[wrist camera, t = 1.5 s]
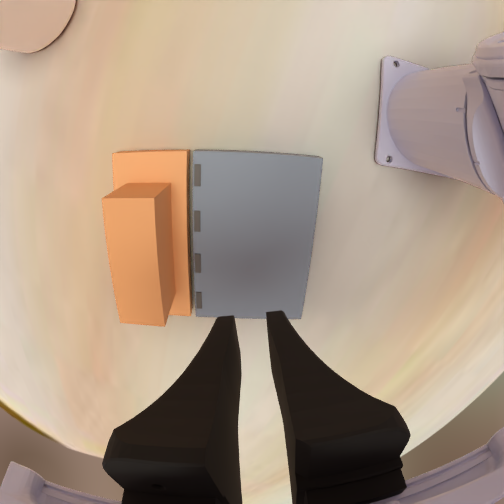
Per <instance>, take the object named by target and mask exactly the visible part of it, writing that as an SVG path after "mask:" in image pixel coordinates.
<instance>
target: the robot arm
mask: <svg viewBox="0 0 504 504" xmlns="http://www.w3.org/2000/svg"><path fill="white" fill-rule="evenodd" d="M393 62H396V64H397V67H395V66H394V65H393ZM387 156H390V161H389V162H387V161H386V158H387ZM375 160H376V162H377V163H378V164H380V165H384V166H390V167H396V168H402V169H408V170H413V171H418V172H424V173H429V174H434V175H438V176H443V177H448V178H452V179H457V180H460V181H463V182H465V183H468V184H470V185H473V186H475V187H478V188H480V189H482V190H485V191H487V192H489V193H492V194H494V195H496V196H498V197H499V198H500V199H501V200H502V201H503V203H504V32H501V33H499V34H496V35H493V36H491V37H488V38H486V39H484V40H483V41H481V42H479V43H478V44H477V47H476V50H475V54H474V55H473V57H472V64H464V65H456V66H449V67H443V68H436V69H428V68H426V67H423V66H420V65H417V64H414V63H411V62H408V61H405V60H402V59H399V58H395V57H392V56H386V57H383V59H382V70H381V92H380V108H379V121H378V132H377V142H376V151H375ZM266 319H267V330H268V340H269V351H270V360H271V369H272V375H273V379H274V383H275V388H276V392H277V396H278V401H279V405H280V409H281V414H282V418H283V424H284V432H285V440H286V448H287V457H288V465H289V474H290V484H291V493H292V503H293V504H494V503H496V502H497V501H499V500H500V499H502V498H503V497H504V427H503V428H501V429H500V430H498V431H497V432H496V433H495V434H494V435H493V436H492V437H491V438H490V440H489V441H488V443H487V444H486V445H484V446H482V447H480V448H478V449H476V450H474V451H472V452H471V453H469V454H467V455H465V456H463V457H461V458H458V459H456V460H454V461H452V462H450V463H448V464H445V465H443V466H441V467H439V468H436V469H434V470H432V471H429V472H427V473H424V474H422V475H419V476H417V477H414V478H411V479H408V480H406V481H405V480H404V477H403V475H402V471H401V468H402V467H403V464H402V461H401V458H400V455H401V453H402V451H403V450H404V448H405V446H406V445H407V443H408V441H409V438H410V432H409V429H408V427H407V425H406V423H405V421H404V419H403V418H402V416H401V415H400V413H399V412H398V410H397V409H396V407H395V406H392V405H390V404H388V403H385V402H383V401H381V400H379V399H376V398H374V397H372V396H370V395H368V394H367V393H365V392H363V391H361V390H360V389H358V388H357V387H355V386H354V385H352V384H351V383H349V382H348V381H346V380H345V379H343V378H342V377H340V376H339V375H338V374H337V373H335V372H334V371H333V370H332V369H330V368H329V367H328V366H327V365H326V364H325V363H324V362H323V361H322V360H321V359H320V358H319V357H318V356H317V355H316V354H315V353H314V352H313V351H312V350H311V349H310V348H309V347H308V346H307V345H306V343H305V342H304V341H303V340H302V338H301V337H300V336H299V335H298V333H297V332H296V331H295V329H294V328H293V326H292V325H291V323H290V322H289V320H288V319H287V317H286V315H285V313H284V312H283V311H282V310H279V311H270V312H266ZM240 388H241V355H240V348H239V342H238V336H237V330H236V324H235V318H234V315H231V316H219V317H218V318H217V319H216V321H215V323H214V325H213V327H212V329H211V331H210V333H209V335H208V336H207V338H206V340H205V342H204V343H203V345H202V347H201V348H200V350H199V351H198V353H197V354H196V356H195V357H194V359H193V360H192V361H191V363H190V364H189V366H188V367H187V368H186V370H185V371H184V372H183V373H182V375H181V376H180V377H179V378H178V379H177V380H176V381H175V383H174V384H173V385H172V386H171V387H170V388H169V389H168V390H167V391H166V392H165V393H164V394H163V395H162V396H161V397H160V398H158V399H157V400H156V401H155V402H154V403H152V404H151V405H150V406H149V407H147V408H146V409H145V410H144V411H142V412H141V413H139V414H138V415H137V416H135V417H134V418H132V419H130V420H129V421H127V422H126V423H124V424H122V425H121V426H119V427H117V428H115V429H114V430H113V433H112V435H111V437H110V439H109V442H108V445H107V449H106V452H105V455H104V459H103V463H102V465H103V468H104V470H105V471H106V472H107V474H108V475H109V476H110V477H111V478H113V479H114V480H115V481H116V482H117V483H118V484H119V485H120V486H121V487H123V488H124V493H123V498H122V501H117V500H111V499H107V498H103V497H99V496H95V495H91V494H87V493H83V492H79V491H76V490H72V489H69V488H66V487H63V486H60V485H57V484H54V483H51V482H48V481H45V480H44V479H43V478H42V477H41V476H40V475H39V474H38V473H36V472H35V471H33V470H31V469H29V468H27V467H25V466H22V465H20V464H17V463H15V462H10V465H9V467H8V469H7V472H6V475H5V477H4V480H3V482H2V485H1V487H0V504H242V494H241V480H240V465H239V445H238V414H239V401H240Z"/></svg>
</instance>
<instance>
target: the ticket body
mask: <svg viewBox="0 0 504 504" xmlns="http://www.w3.org/2000/svg"><path fill="white" fill-rule="evenodd" d="M322 163H323V158H321V157H319V156H311V155H300V154H288V153H274V152H258V151H237V150H195V151H193V257H194V286H195V308H196V316H198V317H219V316H231V315H234V318H252V319H266V312H270V311H279V310H282V311H283V312H284V313H285V315H286V317H287V319H301V317H302V311H303V305H304V299H305V293H306V287H307V280H308V274H309V267H310V261H311V254H312V247H313V239H314V232H315V224H316V217H317V208H318V200H319V191H320V182H321V173H322Z"/></svg>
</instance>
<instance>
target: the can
mask: <svg viewBox="0 0 504 504" xmlns="http://www.w3.org/2000/svg"><path fill="white" fill-rule="evenodd" d="M75 2H76V0H0V49H4V50H11V51H17V52H23V53H32V52H36V51H39V50H41V49H43V48H44V47H46V46H47V45H49V44H50V43H51V42H52V41H54V40H55V39H56V38H57V37H58V36H59V35H60V34H61V32H62V31H63V30H64V28H65V27H66V25H67V24H68V22H69V20H70V18H71V16H72V13H73V11H74V7H75Z"/></svg>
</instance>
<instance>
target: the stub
mask: <svg viewBox="0 0 504 504" xmlns="http://www.w3.org/2000/svg"><path fill="white" fill-rule="evenodd" d="M189 161H190V150H145V151H123V152H116V153H113V154H112V162H113V185H114V191H113V192H112V193H110V194H108V195H107V196H105V197H104V198H102V206H103V217H104V226H105V235H106V243H107V250H108V257H109V264H110V270H111V276H112V282H113V288H114V293H115V299H116V304H117V309H118V313H119V318H120V323H130V324H140V325H152V326H164V327H165V325H166V321H167V318H168V315H181V316H191V313H192V308H193V307H192V288H191V263H190V224H189Z"/></svg>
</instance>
